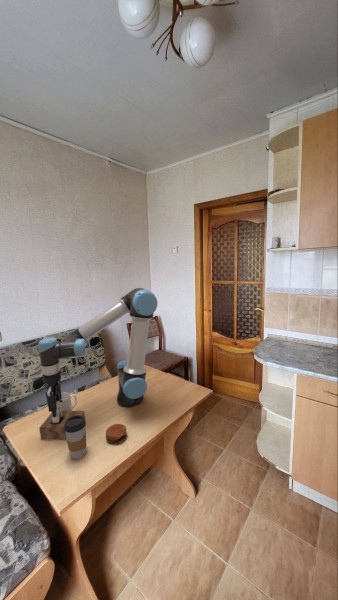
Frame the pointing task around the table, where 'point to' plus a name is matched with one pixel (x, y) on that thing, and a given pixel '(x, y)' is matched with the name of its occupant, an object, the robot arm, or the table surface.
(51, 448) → the table surface
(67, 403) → the mug
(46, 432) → the socket block
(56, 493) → the table surface
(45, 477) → the table surface
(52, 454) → the table surface
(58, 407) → the pin
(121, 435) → the burger
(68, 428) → the coffee cup
